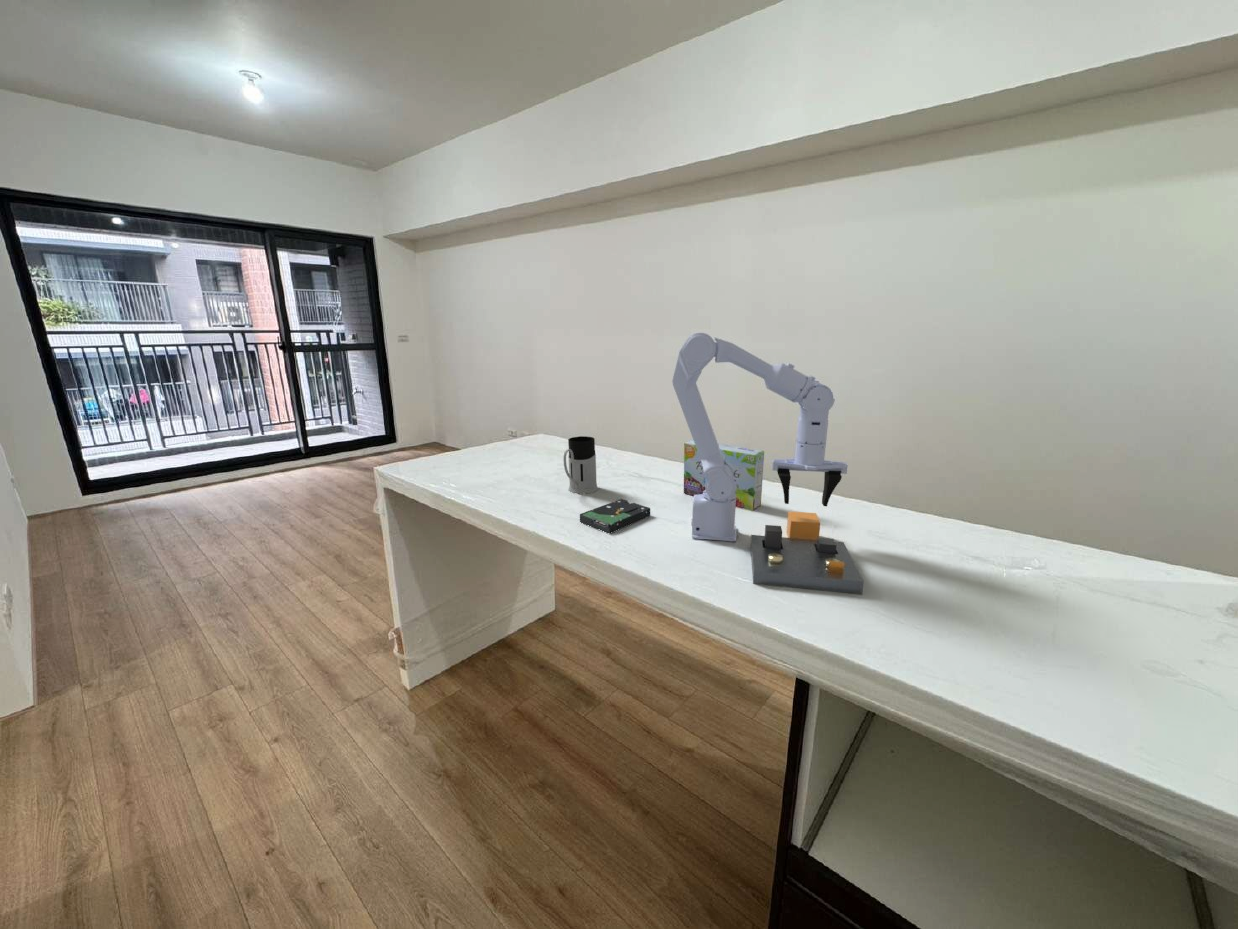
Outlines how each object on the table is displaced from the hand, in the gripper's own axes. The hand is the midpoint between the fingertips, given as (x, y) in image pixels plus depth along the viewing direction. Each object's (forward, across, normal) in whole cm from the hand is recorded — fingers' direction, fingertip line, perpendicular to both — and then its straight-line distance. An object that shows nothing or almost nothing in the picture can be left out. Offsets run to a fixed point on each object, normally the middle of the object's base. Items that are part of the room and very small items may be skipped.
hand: (805, 503), depth 101 cm
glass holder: (+8, -58, +21) cm, 62 cm away
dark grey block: (+8, +3, -10) cm, 13 cm away
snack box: (+8, -18, +22) cm, 30 cm away
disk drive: (+9, -43, +3) cm, 44 cm away
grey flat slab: (+8, -2, -14) cm, 16 cm away
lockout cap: (+8, 0, 0) cm, 8 cm away
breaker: (+6, -7, -10) cm, 14 cm away
